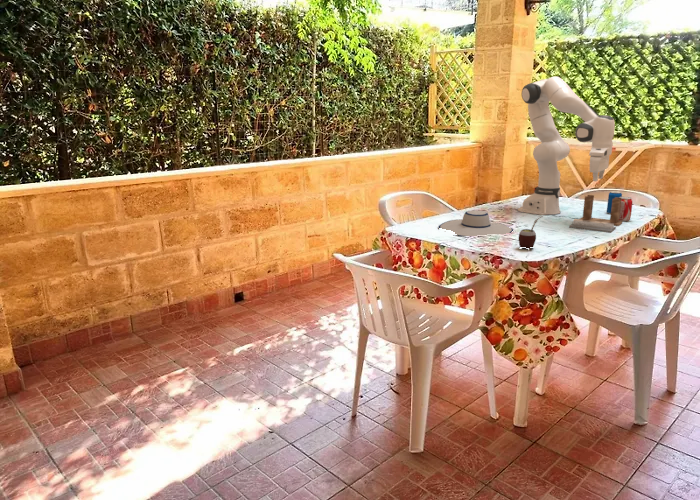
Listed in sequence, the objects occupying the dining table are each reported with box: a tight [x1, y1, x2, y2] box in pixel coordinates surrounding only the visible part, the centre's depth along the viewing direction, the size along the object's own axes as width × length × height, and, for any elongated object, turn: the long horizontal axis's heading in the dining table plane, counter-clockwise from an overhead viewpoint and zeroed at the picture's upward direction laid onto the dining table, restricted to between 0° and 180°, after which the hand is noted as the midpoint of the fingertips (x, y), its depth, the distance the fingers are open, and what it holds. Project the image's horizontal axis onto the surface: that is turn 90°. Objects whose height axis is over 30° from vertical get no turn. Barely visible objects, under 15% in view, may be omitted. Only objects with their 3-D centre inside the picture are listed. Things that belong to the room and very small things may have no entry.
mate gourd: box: [518, 215, 544, 248], centre depth 219 cm, size 8×8×15 cm
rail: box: [572, 218, 615, 229], centre depth 253 cm, size 18×3×2 cm, turn 52°
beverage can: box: [606, 190, 623, 215], centre depth 281 cm, size 6×6×12 cm
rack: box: [579, 194, 624, 227], centre depth 263 cm, size 19×8×13 cm, turn 52°
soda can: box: [619, 196, 633, 223], centre depth 265 cm, size 7×7×12 cm
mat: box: [568, 223, 617, 234], centre depth 253 cm, size 19×10×1 cm, turn 52°
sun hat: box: [438, 209, 514, 237], centre depth 256 cm, size 36×36×9 cm
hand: (597, 179), depth 249 cm, fingers open, 8 cm apart
